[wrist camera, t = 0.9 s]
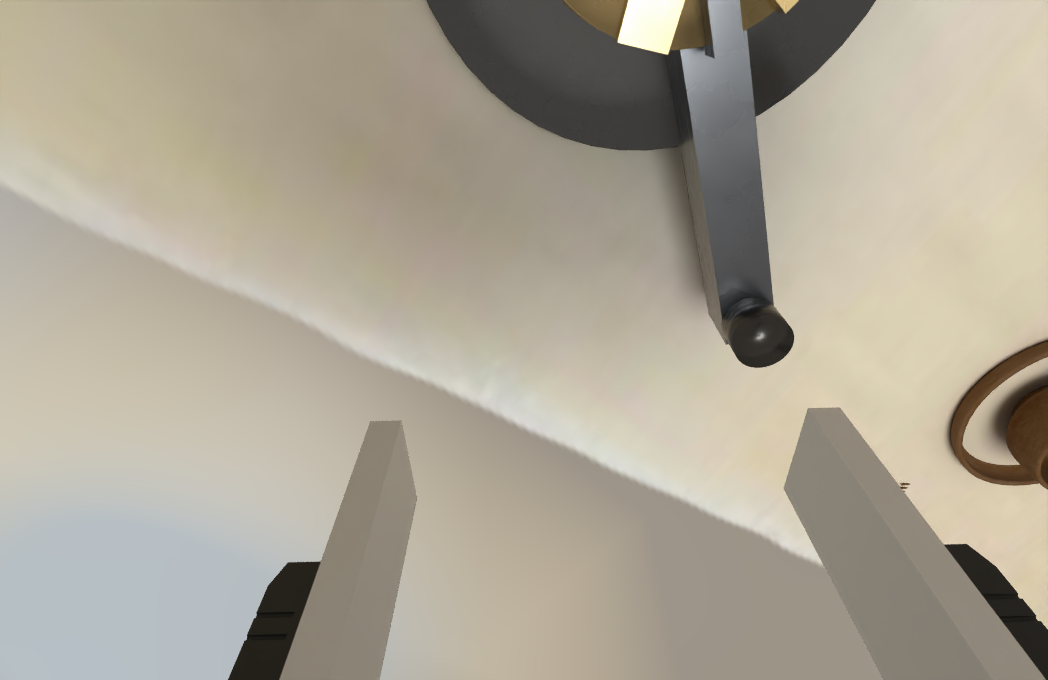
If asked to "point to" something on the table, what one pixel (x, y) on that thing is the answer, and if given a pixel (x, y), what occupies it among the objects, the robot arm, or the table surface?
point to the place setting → (1010, 427)
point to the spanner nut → (714, 151)
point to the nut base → (622, 65)
